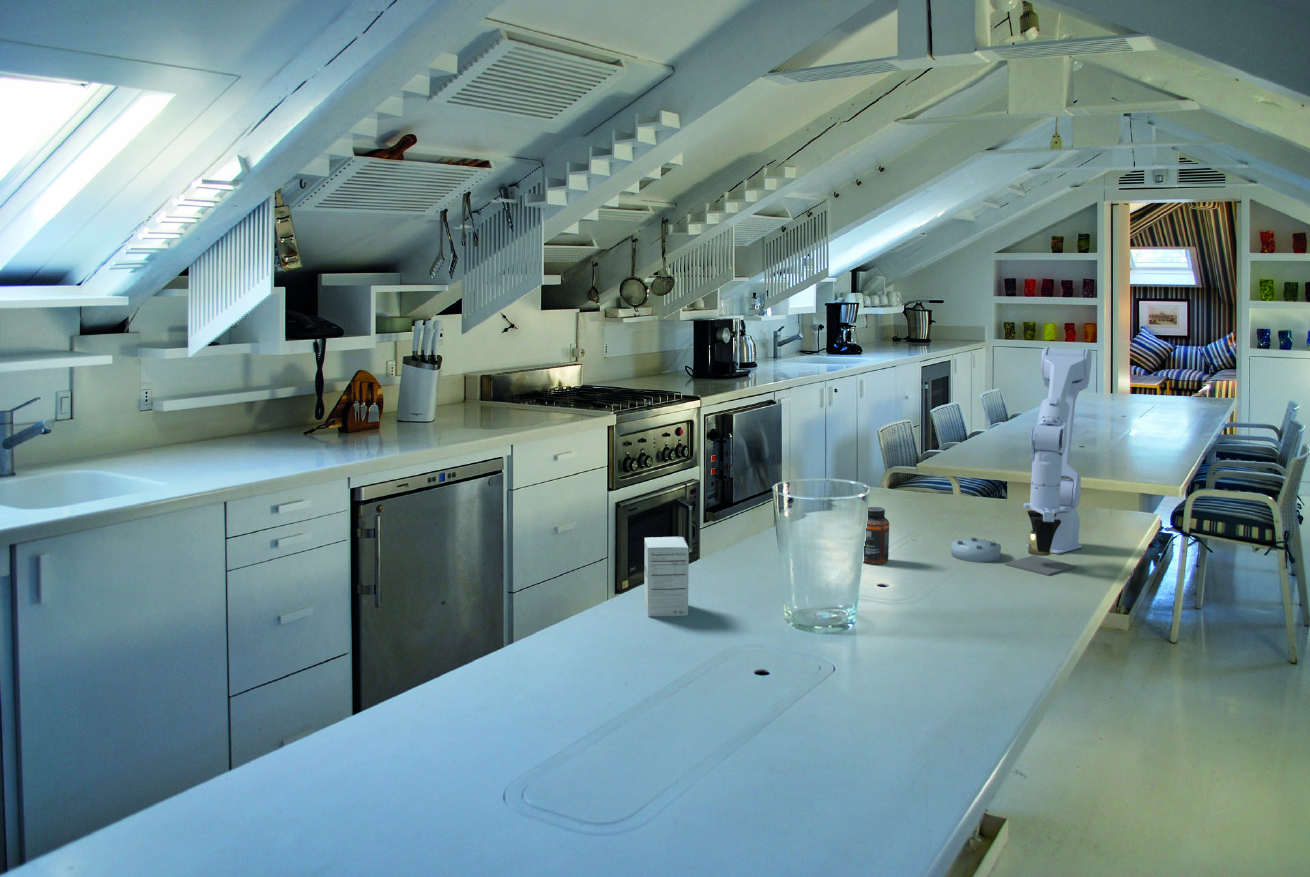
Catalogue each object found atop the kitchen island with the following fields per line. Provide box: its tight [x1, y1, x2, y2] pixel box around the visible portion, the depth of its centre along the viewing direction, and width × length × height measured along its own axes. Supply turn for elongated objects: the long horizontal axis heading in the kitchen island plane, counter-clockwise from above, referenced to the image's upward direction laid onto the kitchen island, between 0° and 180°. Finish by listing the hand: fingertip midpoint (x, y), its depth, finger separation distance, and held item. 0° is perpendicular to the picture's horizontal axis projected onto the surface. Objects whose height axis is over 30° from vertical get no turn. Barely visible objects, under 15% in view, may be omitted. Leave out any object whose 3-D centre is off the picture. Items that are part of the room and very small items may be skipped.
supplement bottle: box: [863, 506, 890, 565], centre depth 221 cm, size 6×6×11 cm
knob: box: [1027, 530, 1052, 557], centre depth 218 cm, size 4×4×5 cm
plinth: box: [951, 536, 1002, 563], centre depth 226 cm, size 10×10×3 cm
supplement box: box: [643, 536, 690, 618], centre depth 188 cm, size 7×7×13 cm
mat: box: [1004, 555, 1077, 577], centre depth 218 cm, size 10×10×1 cm
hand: (1041, 548), depth 218 cm, fingers closed on knob, 4 cm apart
